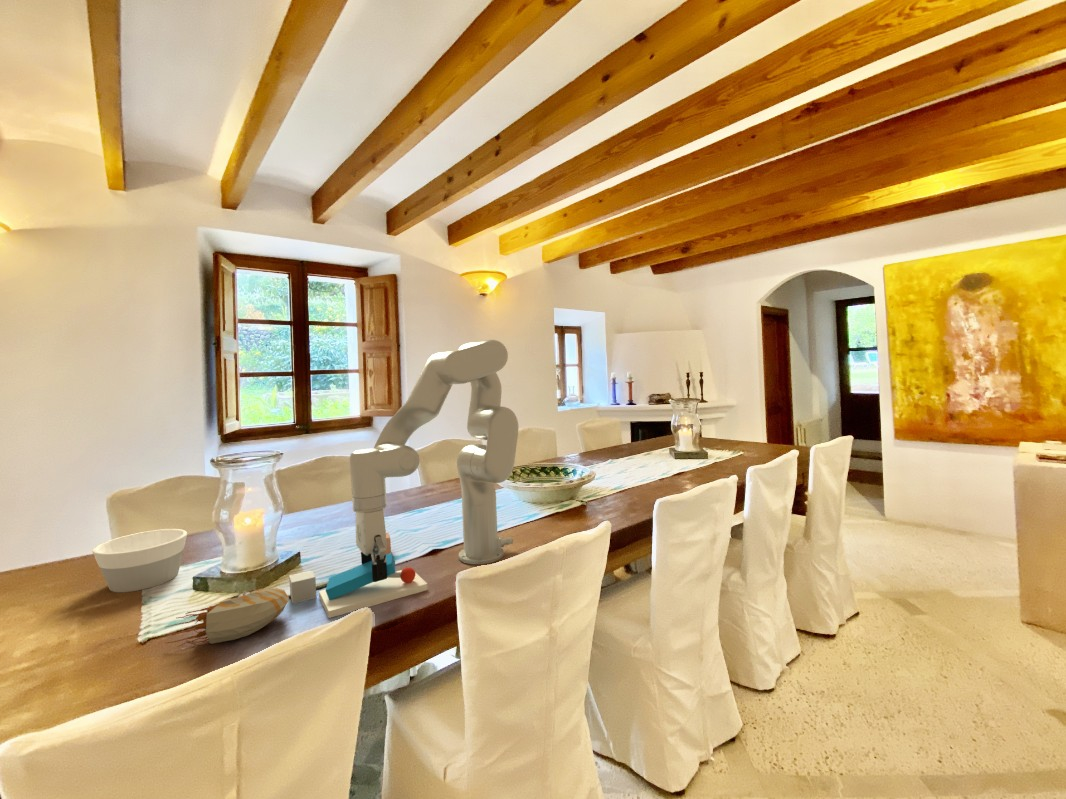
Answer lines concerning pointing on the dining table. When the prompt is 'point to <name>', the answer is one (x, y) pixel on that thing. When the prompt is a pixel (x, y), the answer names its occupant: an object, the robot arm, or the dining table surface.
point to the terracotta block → (387, 545)
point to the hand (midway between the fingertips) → (374, 573)
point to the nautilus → (237, 615)
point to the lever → (364, 577)
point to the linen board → (371, 595)
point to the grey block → (302, 586)
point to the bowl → (141, 559)
